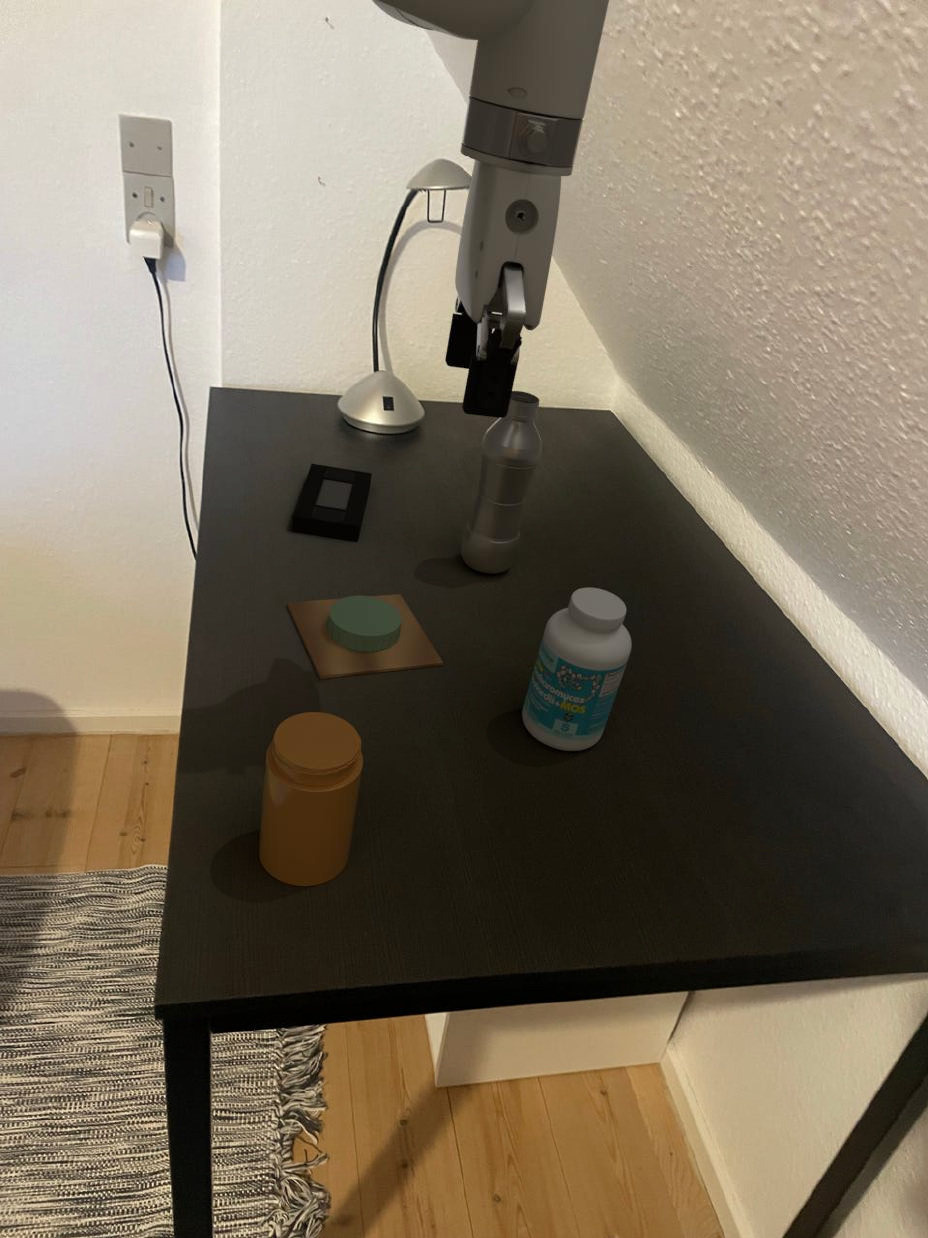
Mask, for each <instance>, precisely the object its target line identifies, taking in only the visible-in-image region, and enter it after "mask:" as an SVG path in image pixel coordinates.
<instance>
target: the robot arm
mask: <svg viewBox="0 0 928 1238" xmlns="http://www.w3.org/2000/svg"><path fill="white" fill-rule="evenodd" d="M371 1H372V3H374V4H375V6H376V7H378V8H379V9H380V10H381V11H382V12H383V13H385V14H386V15H387V16H389V17H391V18H392V19H395V20H397V21H398V22H401V23H403V24H406V25H410V26H412V27H416V28H421V29H423V30H428V31H435V32H438V33H442V34H445V35H448V36H451V37H454V38H458V39H460V40H466V41H476V47H475V54H474V61H473V68H472V74H471V80H470V86H469V93H468V95H469V96H468V100H467V107H466V111H465V113H466V114H465V118H464V126H463V132H462V137H461V144H460V150H459V152H460V153H461V155H463V156H464V157H468V158H469V159H471V160H474V162H473V168H472V173H471V176H470V179H469V187H468V194H467V197H466V198H467V199H466V203H465V209H464V215H463V220H462V225H461V231H460V232H461V233H460V238H459V243H458V250H457V251H458V252H457V259H456V268H455V277H454V284H455V291H456V293H457V296H456V299H455V306H454V312H455V313H452V316H451V322H450V328H449V334H448V341H447V345H446V346H447V347H446V352H445V359H444V360H445V364H446V366H448V367H451V368H458V369H459V368H460V369H466V370H467V371H468V372H467V378H466V382H465V389H464V393H463V398H462V404H461V407H462V408H461V409H462V411H463V413H464V414H466V415H473V416H479V417H480V416H482V417H490V418H496V419H497V418H498V419H499V418H504V417H505V416H506V415H507V413H508V408H509V403H510V398H511V394H512V391H513V388H514V383H515V379H516V375H517V369H518V364H519V360H520V350H521V349H520V347H521V346H522V344H523V340H522V339H523V336H521V334H522V331H523V328H525V329H526V330H527V331H534V330H535V329H537V328H538V327H539V326H540V323H541V318H542V313H543V307H544V302H545V298H546V292H547V285H548V280H549V275H550V274H549V273H550V269H551V262H552V256H553V251H554V245H555V239H556V231H557V225H558V217H559V210H560V200H561V191H562V189H561V188H562V177H569V176H572V173H573V169H574V164H575V160H576V155H577V151H578V147H579V141H580V137H581V132H582V128H583V123H584V118H585V114H586V109H587V105H588V101H589V95H590V91H591V86H592V82H593V77H594V73H595V67H596V63H597V58H598V55H599V50H600V44H601V41H602V35H603V31H604V28H605V27H604V26H605V21H606V18H607V12H608V8H609V3H610V0H371Z"/></svg>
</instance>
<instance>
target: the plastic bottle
mask: <svg viewBox="0 0 928 1238" xmlns="http://www.w3.org/2000/svg"><path fill="white" fill-rule="evenodd" d="M539 406H540V399H539V397H538V396H536V395H535V394H532V393H530V392H526V391H521V390H512V394H511V398H510V403H509V408H508V413H507V415H506V416H505V417H504V418H498V419H496V421H494V423H492V425H491V426H490V427H488V428H487V430H486V432H485V434H484V435H483V438H482V439H481V440H482V441H481V447H480V449H481V451H480V465H479V466H480V467H479V477H478V484H477V489H476V495H475V500H474V504H473V506H472V509H471V513H470V517H469V519H468V522H467V524H466V527H465V529H464V532H463V534H462V537H461V540H460V555H461V557H462V560H463V561H464V563H465V564H466V565H467V566H468V567H469V568H471V570H475V571H477V572H479V573H485V574H500V573H503V572H505V571H507V570H508V569H509V568H511V567H512V566H513V565H514V563H515V561H516V559H517V556H518V554H519V552H520V543H521V540H520V539H521V537H520V536H521V533H520V531H521V524H522V518H523V511H524V506H525V502H526V497H527V495H528V492H529V488H530V485H531V482H532V479H533V477H534V474H535V472H536V469H537V468H538V464H539V462H540V459H541V457H542V453H543V442H542V438H541V436H540V433H539V430H538V428H537V427H536V424H535V420H537V419H538V417H539V412H538V411H539Z"/></svg>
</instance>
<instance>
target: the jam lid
mask: <svg viewBox="0 0 928 1238" xmlns="http://www.w3.org/2000/svg"><path fill="white" fill-rule="evenodd" d="M371 596H372V595H350V596H345V597H342V598H338V599H339V600H338V601H336V602H335V603H334V604H333V605H332V606H331V608H330V611H329V616H328V621H327V627H328V633H329V635H330V636H331V638H332V639H333V640H334V641H335V642H337V643H338V644H340V645H341V646H343V647H346V648H348V649H352V650H355V651H361V652H377V651H382V650H385V649H388V648H390V647H391V646H393V645H394V644H396V642H397V640H398V639H399V637H400V631H401V625H402V622H401V621H402V618H401V615H400V613H399V611H398V610H397V609H396V608H395V607H394V606H393V605H391V604H390V603H388V602H386V601H384V600H382V599H379V598H375V597H371Z"/></svg>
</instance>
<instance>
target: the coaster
mask: <svg viewBox="0 0 928 1238" xmlns="http://www.w3.org/2000/svg"><path fill="white" fill-rule="evenodd" d="M370 596H371V597H375V598H379V599H382V600H384V601H386V602H388V603H390V604H391V605H393V606H394V607H395V608H396V609H397V610H398V611H399V613H400V615H401V618H402V621H401V622H402V625H401V631H400V637H399V639H398V640H397V642H396V644H394V645H393V646H391V647H390V648H388V649H385V650H382V651H377V652H361V651H355V650H352V649H348V648H346V647H343V646H341V645H340V644H338V643H337V642H335V641H334V640H333V639H332V638H331V636H330V635H329V633H328V627H327V621H328V616H329V611H330V608H331V606H332V605H333V604H334V603H335V602H336V601H338V600H339V599H340V598H331V599H330V598H329V599H317V600H315V599H314V600H304V601H289V602H286V608H287V609H288V612H289V614H290V616H291V618H292V621H293V623H294V626H295V627H296V630H297V632H298V634H299V636H300V639H301V640H302V643H303V645H304V647H305V650H306V652H307V654H308V656H309V659H310V661H311V663H312V665H313V667H314V670H315V671H316V674H317V676H318V678H319V680H324V679H334V678H342V677H351V676H352V677H353V676H361V675H369V674H371V675H372V674H378V673H380V674H381V673H388V672H396V671H406V670H415V669H424V668H433V667H442V666H443V665H444V662H443V660H442V658H441V657H440V655H439V654H438V652H437V650H436V649H435V647H434V645H433V644H432V642H431V641H430V639H429V637H428V636H427V634H426V633H425V631H424V630H423V628H422V626H421V624H420V623H419V622H418V620H417V618H416V616H415V615H414V613H413V612H412V610H411V608H410V607H409V605H408V604H407V602H406V600H405V599H404V597H403V596H402V594H400V593H398V594H397V593H396V594H386V595H385V594H384V595H383V594H382V595H370Z"/></svg>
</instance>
